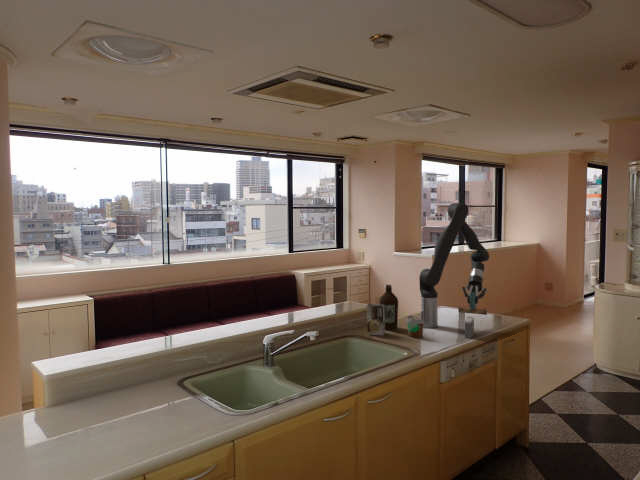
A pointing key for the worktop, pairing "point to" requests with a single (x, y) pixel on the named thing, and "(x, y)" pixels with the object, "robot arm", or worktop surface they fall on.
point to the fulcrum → (469, 327)
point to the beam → (472, 306)
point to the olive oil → (390, 308)
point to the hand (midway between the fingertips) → (472, 302)
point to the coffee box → (375, 319)
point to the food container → (415, 327)
